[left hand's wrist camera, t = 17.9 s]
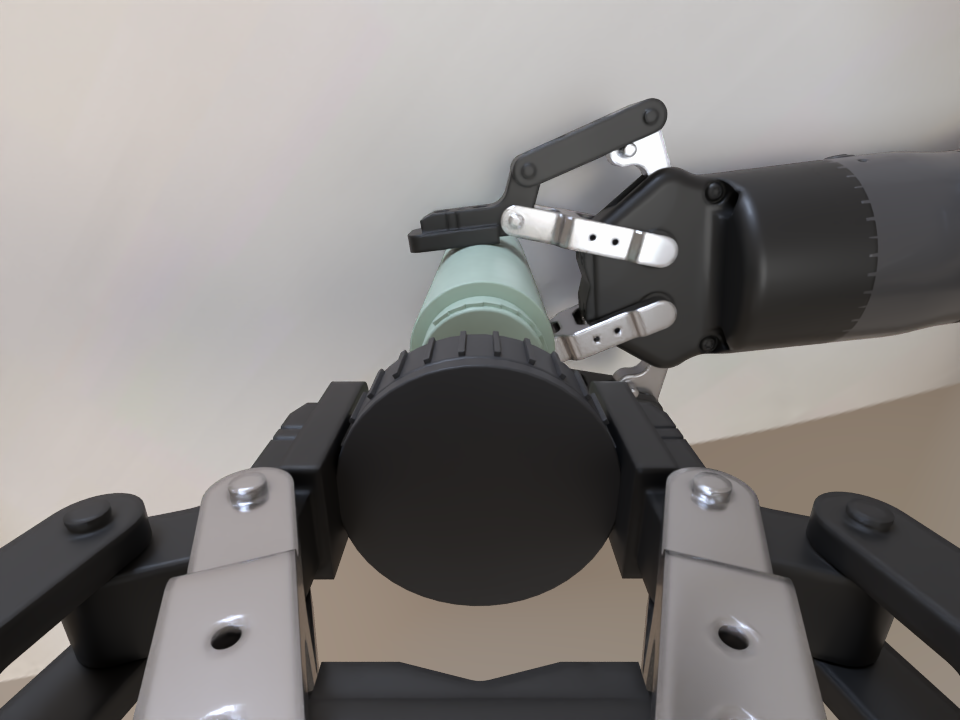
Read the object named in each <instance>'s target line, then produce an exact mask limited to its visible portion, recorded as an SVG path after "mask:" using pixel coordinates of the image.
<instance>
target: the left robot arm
mask: <svg viewBox="0 0 960 720" xmlns="http://www.w3.org/2000/svg"><path fill="white" fill-rule="evenodd" d="M363 392H366V393H368V392H369V391H368V386H367V383H366V382H331V383H330V385H329V386H328V388H327V390H326V391H325V393H324V394H323V396H322V397H321V399H320V400H319V402H318V403H306V404H305V405H303V406H302V407H300V408H298V409H297V410H295V411H294V412H292V413H290V415H289V416H288V417H287V419H286V420H285V421H284V423H283V424H282V426H281V429H279V430H278V431H277V432H276V434H275V435H274V437H273V440H271V441H270V442H269V444H268V445H267V446H266V448H265V449H264V450H263V452H262V453H261V455H260V456H259V457H258V459H257V460H256V461H255V463H254V464H253V466H252V467H251V468H250V469H246V470H242V471H239V472H235V473H233V474H230V475H228V476H226V477H224V478H222V479H220V480H219V481H217V482H216V483H214V484H213V485H212V486H211V487H210V488H209V489H208V490H207V491H206V492H205V494H204V495H203V498H202V501H201V506H198V507H195V508H191V509H186V510H182V511H176V512H171V513H166V514H161V515H156V516H151V517H148V516H147V513H146V509H145V506H144V503H143V501H142V500H141V499H140V498H139V497H137V496H135V495H132V494H126V493H113V494H105V495H100V496H95V497H92V498H88V499H85V500H82V501H79V502H77V503H74V504H72V505H70V506H67V507H65V508H63V509H61V510H60V511H58V512H56V513H55V514H53V515H51V516H50V517H48V518H47V519H45V520H44V521H42V522H41V523H39V524H37V525H36V526H34V527H33V528H31V529H30V530H28V531H27V532H25V533H23V534H22V535H20V536H19V537H17V538H16V539H14V540H13V541H11V542H10V543H8V544H6V545H5V546H3V547H2V548H0V674H1V672H2V671H3V670H4V669H5V668H6V667H7V666H8V665H10V664H11V663H12V662H13V661H14V660H15V659H17V658H18V657H19V656H20V655H21V654H22V653H24V652H25V651H26V650H27V649H28V648H30V647H31V646H32V645H33V644H34V643H35V642H37V641H38V640H39V639H40V638H41V637H43V636H44V635H45V634H46V633H47V632H48V631H50V630H51V629H52V628H53V627H54V626H56V625H57V624H58V623H59V622H60V621H62V624H63V626H64V629H65V631H66V634H67V636H68V639H69V641H70V644H71V645H70V646H69V647H68V648H67V649H66V650H64V651H63V652H62V653H61V654H60V655H59V656H58V657H57V658H56V659H55V660H53V661H52V662H51V663H50V664H49V665H48V666H47V667H46V668H45V669H44V670H42V671H41V672H40V673H39V674H38V675H37V676H36V677H35V678H34V679H32V680H31V681H30V682H29V683H28V684H27V685H26V686H25V687H24V688H23V689H21V690H20V691H19V692H18V693H17V694H16V695H15V696H14V697H13V698H11V699H10V700H9V701H8V702H7V703H6V704H5V705H4V706H3V707H2V708H0V720H121V719H122V718H123V717H124V716H125V715H126V713H127V712H128V711H129V710H130V709H131V708H132V707H133V706H134V704H135V703H136V702H137V705H136V709H135V713H134V717H133V720H827V717H826V713H825V709H824V705H823V702H824V703H825V704H826V706H827V707H828V708H829V709H830V710H831V711H832V712H833V714H834V715H835V716H836V717H837V718H838V719H839V720H960V708H958V707H957V706H956V705H955V704H954V703H953V702H952V701H951V700H950V699H948V698H947V697H946V696H945V695H944V694H943V693H942V692H941V691H940V690H939V689H937V688H936V687H935V686H934V685H933V684H932V683H931V682H930V681H929V680H927V679H926V678H925V677H924V676H923V675H922V674H921V673H920V672H919V671H918V670H916V669H915V668H914V667H913V666H912V665H911V664H910V663H909V662H908V661H906V660H905V659H904V658H903V657H902V656H901V655H900V654H899V653H898V652H897V651H895V650H894V649H893V648H892V647H891V646H890V645H889V644H888V643H887V642H886V641H885V639H886V637H887V634H888V631H889V629H890V626H891V624H892V621H893V619H894V617H895V618H896V619H897V620H899V621H900V622H901V623H902V624H903V625H904V626H906V627H907V628H908V629H909V630H910V631H912V632H913V633H914V634H915V635H916V636H917V637H919V638H920V639H921V640H922V641H923V642H925V643H926V644H927V645H928V646H929V647H930V648H932V649H933V650H934V651H935V652H936V653H938V654H939V655H940V656H941V657H942V658H943V659H945V660H946V661H947V662H948V663H949V664H950V665H951V666H952V667H953V668H954V669H955V670H956V671H957V672H958V674H959V675H960V548H958V547H957V546H955V545H954V544H952V543H950V542H949V541H947V540H946V539H944V538H943V537H941V536H940V535H938V534H936V533H935V532H933V531H932V530H930V529H929V528H927V527H926V526H924V525H923V524H921V523H919V522H918V521H916V520H915V519H913V518H912V517H910V516H909V515H907V514H905V513H904V512H902V511H900V510H899V509H897V508H895V507H893V506H891V505H889V504H887V503H885V502H882V501H880V500H877V499H874V498H871V497H868V496H864V495H860V494H855V493H849V492H828V493H824V494H822V495H820V496H818V497H817V498H816V499H815V501H814V504H813V508H812V511H811V515H810V517H809V516H804V515H799V514H794V513H788V512H784V511H778V510H773V509H769V508H764V507H760V506H759V501H758V498H757V495H756V494H755V492H754V491H753V490H752V489H751V488H750V487H749V486H748V485H747V484H746V483H744V482H743V481H741V480H740V479H738V478H736V477H734V476H732V475H730V474H727V473H725V472H721V471H718V470H714V469H709V468H706V467H705V466H704V465H703V463H702V462H701V460H700V459H699V458H698V456H697V455H696V453H695V452H694V451H693V449H692V448H691V446H690V445H689V444H688V442H687V441H686V439H683V435H682V434H681V432H680V431H679V430H678V429H676V425H675V424H674V423H673V421H672V420H671V418H670V417H669V416H668V414H667V413H666V412H664V411H662V410H661V409H659V408H658V407H656V406H655V405H653V404H651V403H650V402H638V400H637V399H636V397H635V395H634V394H633V392H632V391H631V389H630V388H629V386H628V384H627V383H626V382H625V381H592V382H591V383H590V387H589V393H590V394H592V393H595V395H596V397H597V399H598V401H599V403H600V405H601V407H602V409H603V411H604V413H605V415H606V417H607V419H608V421H609V424H607V425H606V426H607V428H608V430H609V432H610V435H611V437H612V439H613V441H614V443H615V445H616V451H617V454H618V457H619V462H620V466H621V477H620V486H619V495H618V504H617V512H616V520H615V524H614V526H613V529H612V531H611V533H610V535H609V540H610V543H611V546H612V549H613V552H614V555H615V558H616V561H617V564H618V567H619V570H620V573H621V576H622V578H643V581H644V583H645V586H646V588H647V591H648V594H649V596H648V603H647V610H646V621H645V632H644V643H643V654H642V664H641V669H640V666H639V663H638V662H559V663H554V664H550V665H547V666H543V667H539V668H535V669H531V670H527V671H523V672H519V673H515V674H511V675H507V676H503V677H499V678H495V679H491V680H486V681H473V680H469V679H465V678H461V677H457V676H453V675H449V674H445V673H441V672H437V671H433V670H429V669H425V668H421V667H417V666H413V665H409V664H405V663H401V662H321V666H320V669H319V664H318V653H317V643H316V632H315V621H314V610H313V602H312V596H311V590H310V587H311V584H312V582H313V579H334V578H335V575H336V572H337V569H338V566H339V563H340V560H341V557H342V554H343V551H344V548H345V545H346V542H347V540H348V534H347V532H346V530H345V528H344V526H343V524H342V521H341V514H340V506H339V497H338V489H337V480H336V468H337V462H338V458H339V455H340V452H341V446H340V445H341V443H342V441H343V439H344V437H345V434H346V432H347V430H348V428H349V426H350V424H351V423H350V422H349V420H350V418H351V416H352V414H353V412H354V410H355V408H356V406H357V404H358V402H359V399H360V397H361V395H362V394H363Z"/></svg>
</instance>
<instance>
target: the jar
mask: <svg viewBox="0 0 960 720" xmlns="http://www.w3.org/2000/svg"><path fill="white" fill-rule="evenodd" d="M460 331H466V334H489V335H492V334H493V331H498V332H499V336H505V337H509V338H513V339H518V340H521V341H523V340H524V338H528V339H530V342H531V344H532V345H534V346H537V347H539V348H541V349H542V350H544V351H546V352H548V353H550V354H551V353H552V352H553V351H555V339H554V334H553V330H552V327H551V324H550V322H549V319H548V316H547V314H546V311H545V308H544V306H543V303H542V300H541V298H540V295H539V292H538V290H537V287H536V284H535V282H534V279H533V276H532V273H531V271H530V268H529V265H528V263H527V260H526V257H525V255H524V252H523V249H522V247H521V245H520V243H519V241H518V240H517V238H516V237H512V236H503V237H500V243H496V244H488V245H475V246H470V247H462V248H454V249H446V251H445V254H444V256H443V258H442V261H441V263H440V266H439V268H438V270H437V273H436V275H435V277H434V280H433V282H432V285H431V287H430V289H429V292H428V294H427V296H426V299H425V301H424V304H423V306H422V308H421V311H420V313H419V315H418V318H417V320H416V322H415V325H414V328H413V331H412V334H411V340H410V352H411V351H413V350H415V349H416V348H419V347H421V346H423V345H426V344H428V341H429V339H430V338H432V337H434V338H435V340H436V341H437V340H440V339H444V338H448V337H453V336H460Z"/></svg>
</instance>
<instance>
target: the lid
mask: <svg viewBox="0 0 960 720" xmlns="http://www.w3.org/2000/svg"><path fill="white" fill-rule="evenodd" d="M349 422H350V423H351V424H350V426H349V428H348V430H347V432H346V434H345V437H344V439H343V441H342V443H341V445H340V446H341V452H340V455H339V458H338V462H337V468H336V480H337V489H338V497H339V506H340V514H341V521H342V524H343V526H344V528H345V530H346V532H347V534H348V537H349V538H350V540H351V541H352V543H353V544H354V546H355V547H356V549H357V550H358V551H359V553H360V554H361V555H362V556H363V557H364V558H365V560H366V561H367V562H368V563H369V564H370V565H372V566H373V567H374V568H375V569H376V570H377V571H378V572H379V573H381V574H382V575H383V576H385V577H386V578H388V579H389V580H390V581H392V582H393V583H395V584H397V585H399V586H401V587H403V588H404V589H406V590H408V591H411V592H413V593H416V594H418V595H420V596H423V597H426V598H429V599H433V600H436V601H440V602H445V603H450V604H456V605H468V606H491V605H500V604H508V603H512V602H517V601H521V600H525V599H528V598H531V597H534V596H537V595H540V594H542V593H544V592H546V591H549V590H551V589H553V588H555V587H557V586H558V585H560V584H562V583H564V582H565V581H567V580H568V579H570V578H571V577H572V576H574V575H575V574H576V573H578V572H579V571H580V570H582V569H583V568H584V567H585V566H586V565H587V564H588V563H589V562H590V561H591V560H592V559H593V558H594V557H595V555H596V554H597V553H598V552H599V550H600V549H601V548H602V546H603V545H604V543H605V542H606V540H607V538H608V537H609V535H610V533H611V531H612V529H613V526H614V524H615V520H616V512H617V504H618V495H619V486H620V477H621V466H620V462H619V457H618V454H617V451H616V445H615V443H614V441H613V439H612V437H611V435H610V432H609V430H608V428H607V426H606V425H607V424H609V421H608V419H607V417H606V415H605V413H604V411H603V409H602V407H601V405H600V403H599V401H598V399H597V397H596V395H595V393H592V394H590V393H589V391H588V389H587V387H586V384H585V382H584V380H583V378H582V376H581V374H580V372H579V371H578V370H576V371H575V372H573V371H572V370H571V369H570V368H569V367H568V366H566V365H565V364H564V363H563V362H561V361H560V358H559V356H558V353H556V352H555V351H553V352H552V353H551V354H550V353H548V352H546V351H544V350H542V349H541V348H539V347H537V346H534V345H532V344H531V342H530V339H528V338H524V340H523V341H521V340H518V339H513V338H509V337H505V336H499V332H498V331H493V334H492V335H489V334H466V331H460V336H453V337H448V338H444V339H440V340H437V341H436V340H435V338H434V337H432V338H430V339H429V341H428V344H426V345H423V346H421V347H419V348H416V349H415V350H413V351H411V352H409V353H407V351H406V350H404V351H403V352H401V354H400V357H399V359H398V360H397V361H396V362H395V363H393V364H392V365H391V366H390V367H389V368H388V369H387V370H386V371H384V370H383V369H380V371H379V372H378V373H377V376H376V378H375V380H374V382H373V384H372V386H371V388H370V390H369V392H368V393H366V392H363V394H362V395H361V397H360V399H359V402H358V404H357V406H356V408H355V410H354V412H353V414H352V416H351V418H350V420H349Z"/></svg>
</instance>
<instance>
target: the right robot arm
mask: <svg viewBox="0 0 960 720" xmlns="http://www.w3.org/2000/svg"><path fill="white" fill-rule="evenodd" d="M666 120H667V109H666V107H665V105H664V103H663V102H662V101H660V100H658V99H655V98H650V99H646V100H643V101H640V102H637V103H634V104H631V105H629V106H626V107H624V108H622V109H620V110H618V111H615V112H613V113H611V114H609V115H606V116H604V117H602V118H600V119H598V120H595V121H593V122H591V123H589V124H587V125H584V126H582V127H580V128H578V129H576V130H573V131H571V132H569V133H567V134H565V135H562V136H560V137H558V138H556V139H554V140H551V141H549V142H547V143H545V144H543V145H540V146H538V147H536V148H534V149H531V150H529V151H527V152H525V153H523V154H520V155H518V156H517V157H516V158H515V159H514V160H513V161H512V163H511V167H510V173H509V177H508V181H507V186H506V189H505V192H504V194H503V196H502V197H501V198H500V199H499V200H498V201H496V202H495V203H492V204H486V205H477V206H469V207H461V208H453V209H445V210H437V211H434V212H432V213H430V214H428V215H427V216H425V217H424V218H423V219H422V220H421V221H420V223H421V228H420V229H415V230H412V231H411V232H410V233H409V234H408V239H409V245H410V251H411V253H420V252H429V251H437V250H445V249H454V248H462V247H470V246H475V245H488V244H496V243H500V237H503V236H512V237H517V238H523V239H528V240H533V241H538V242H543V243H548V244H553V245H556V246H559V247H562V248H565V249H570V250H575V251H576V259H577V262H578V265H579V268H580V271H581V274H582V278H581V282H580V287H579V292H578V300H579V304H578V305H575V306H573V307H571V308H568V309H566V310H563V311H561V312H559V313H558V314H557V315H555V317H554V318H552V319H551V320H549V322H550V324H551V327H552V330H553V334H554V339H555V352H556V353H558V356H559V358H560V361H561V362H564V361H567V360H581V359H584V358H587V357H589V356H592V355H594V354H597V353H599V352H602V351H604V350H606V349H609V348H611V347H614V346H617V347H619V348H621V349H622V350H624V351H626V352H628V353H630V354H631V355H633V356H635V357H637V358H639V359H640V360H641V362H640V363H639V364H638V365H636V366H634V367H630V368H626V367H625V368H620V369H618V370H617V371H616V372H615V373H614V374H613V376H612V375H606V374H600V373H594V372H587V371H581V370H578V371H579V372H580V374H581V376H582V378H583V380H584V382H585V384H586V387H587V389H588V391H589V387H590V383H591V382H592V381H625V382H626V383H627V384H628V386H629V388H630V389H631V391H632V392H633V394H634V395H635V397H636V399H637V400H638V402H650V403H651V404H653V405H655V406H656V407H658V408H659V409H661V410H662V411H663V408H662V406H661V405H660V403H659V402H658V397H659V394H660V391H661V388H662V385H663V382H664V379H665V376H666V372H667V369H668V368H671V367H675V366H677V365H679V364H681V363H682V362H684V361H685V360H687V359H689V358H691V357H694V356H696V355H700V354H719V353H736V352H745V351H754V350H764V349H773V348H783V347H792V346H802V345H812V344H821V343H829V342H839V341H849V340H858V339H868V338H877V337H885V336H892V335H898V334H903V333H907V332H911V331H915V330H919V329H923V328H928V327H932V326H938V325H944V324H950V323H960V149H959V150H951V151H943V152H885V153H875V154H867V155H858V156H855V155H847V154H844V155H837V156H832V157H828V158H825V159H824V160H817V161H809V162H801V163H793V164H786V165H778V166H769V167H761V168H753V169H745V170H737V171H729V172H721V173H713V174H704V175H695V174H692V173H689V172H687V171H685V170H683V169H681V168H677V167H671V164H670V160H669V157H668V153H667V150H666V146H665V142H664V139H663V135H662V131H661V129H662V127H663V126H664V124H665V122H666ZM604 155H605V156H606V158H607V160H608V161H609V162H610V163H611V164H612V165H615V166H622V167H626V166H630V165H634V166H636V167H638V168H639V169H640V171H641V173H642V175H641V176H640V177H639V178H638V179H637V180H636V181H634V182H633V183H632V184H631V185H630V186H629V187H628V188H627V189H625V190H624V191H623V192H622V193H621V194H620V195H619V196H618V197H616V198H615V199H614V200H613V201H612V202H611V203H610V204H608V205H607V206H606V207H605V208H604V209H603V210H602V211H601V212H599V213H598V214H597V215H592V214H587V213H582V212H577V211H572V210H567V209H561V208H552V207H547V206H542V205H537V204H535V202H536V198H537V194H538V190H539V187H540V184H541V183H543V182H546V181H548V180H550V179H552V178H555V177H557V176H559V175H561V174H564V173H566V172H568V171H570V170H573V169H575V168H577V167H580V166H582V165H584V164H586V163H589V162H591V161H593V160H595V159H598V158H600V157H602V156H604ZM582 317H584V318H582ZM596 336H597V337H596ZM594 337H596V338H594ZM571 370H572V371H573V372H575V371H576V370H575V369H571Z"/></svg>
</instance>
